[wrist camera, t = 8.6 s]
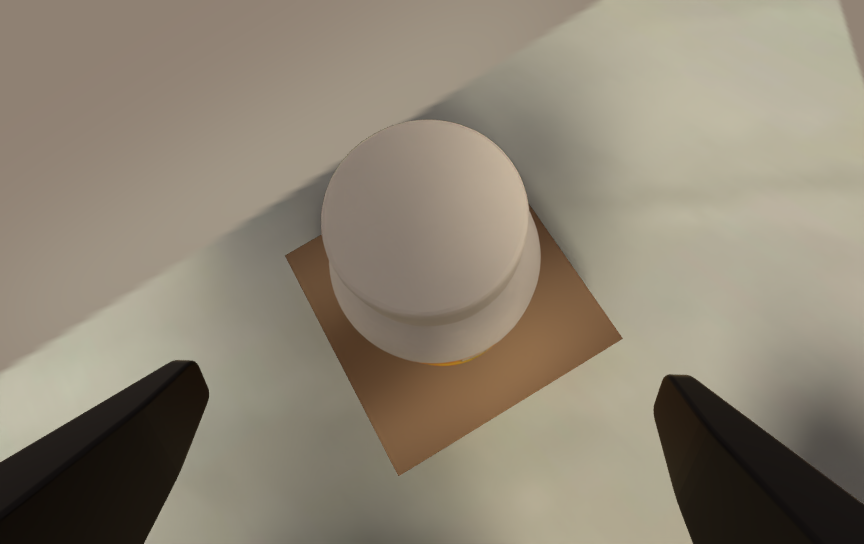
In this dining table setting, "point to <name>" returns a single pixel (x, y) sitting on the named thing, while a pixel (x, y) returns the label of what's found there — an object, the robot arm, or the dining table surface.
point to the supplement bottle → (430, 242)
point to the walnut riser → (468, 382)
